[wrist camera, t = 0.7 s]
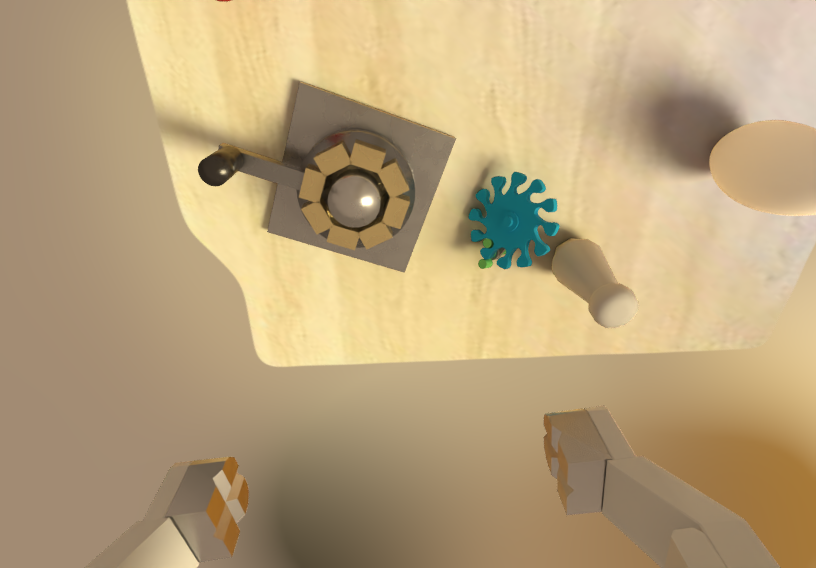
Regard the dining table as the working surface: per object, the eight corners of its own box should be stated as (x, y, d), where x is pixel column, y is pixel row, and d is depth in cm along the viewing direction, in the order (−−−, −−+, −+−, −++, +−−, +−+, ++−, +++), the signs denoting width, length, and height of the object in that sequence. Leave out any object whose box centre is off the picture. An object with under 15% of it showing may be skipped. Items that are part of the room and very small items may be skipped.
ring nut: (231, 95, 41) (206, 104, 35) (421, 161, 44) (426, 179, 39) (215, 201, 45) (190, 223, 40) (388, 253, 49) (388, 280, 43)
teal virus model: (502, 151, 46) (576, 214, 42) (528, 156, 50) (596, 214, 46) (444, 234, 51) (504, 297, 47) (472, 232, 56) (529, 289, 52)
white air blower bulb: (676, 148, 48) (818, 202, 32) (748, 95, 45) (940, 125, 30) (706, 201, 51) (849, 275, 35) (775, 155, 48) (962, 211, 33)
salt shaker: (605, 245, 53) (664, 302, 41) (574, 283, 55) (622, 347, 44) (566, 223, 51) (616, 275, 40) (536, 263, 54) (575, 324, 42)
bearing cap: (301, 81, 43) (288, 87, 38) (455, 137, 46) (463, 149, 41) (269, 229, 50) (254, 251, 45) (404, 269, 53) (405, 294, 48)
